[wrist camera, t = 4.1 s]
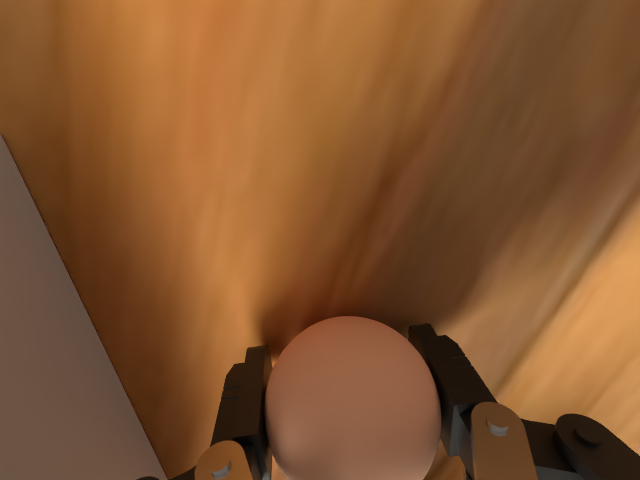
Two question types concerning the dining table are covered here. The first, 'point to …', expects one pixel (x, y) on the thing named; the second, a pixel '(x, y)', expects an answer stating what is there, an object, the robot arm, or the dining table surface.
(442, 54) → the dining table surface
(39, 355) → the low wall
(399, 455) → the ball
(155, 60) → the dining table surface
